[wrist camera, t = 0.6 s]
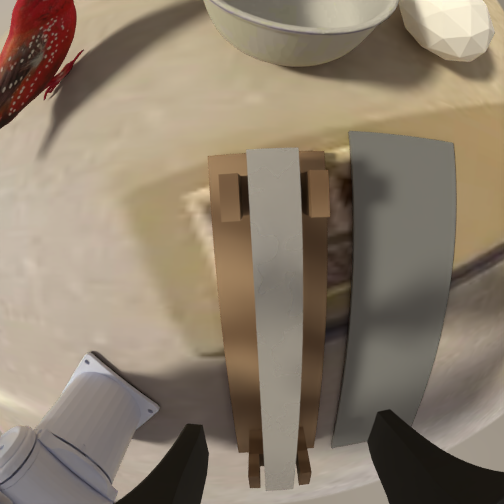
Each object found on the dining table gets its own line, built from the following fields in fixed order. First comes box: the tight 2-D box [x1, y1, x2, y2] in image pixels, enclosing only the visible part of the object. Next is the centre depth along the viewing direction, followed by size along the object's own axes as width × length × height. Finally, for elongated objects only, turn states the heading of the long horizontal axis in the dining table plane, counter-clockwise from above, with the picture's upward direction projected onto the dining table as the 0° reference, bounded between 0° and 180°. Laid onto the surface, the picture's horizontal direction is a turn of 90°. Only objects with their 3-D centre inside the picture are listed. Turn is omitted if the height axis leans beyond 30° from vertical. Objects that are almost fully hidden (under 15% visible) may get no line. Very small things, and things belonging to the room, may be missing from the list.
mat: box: [331, 131, 456, 448], centre depth 20 cm, size 28×9×1 cm, turn 3°
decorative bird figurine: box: [0, 0, 84, 129], centre depth 11 cm, size 3×18×10 cm, turn 135°
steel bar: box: [246, 148, 303, 491], centre depth 15 cm, size 24×2×2 cm, turn 3°
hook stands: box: [208, 151, 330, 488], centre depth 17 cm, size 25×7×6 cm, turn 3°
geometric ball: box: [399, 0, 495, 62], centre depth 11 cm, size 8×8×8 cm
